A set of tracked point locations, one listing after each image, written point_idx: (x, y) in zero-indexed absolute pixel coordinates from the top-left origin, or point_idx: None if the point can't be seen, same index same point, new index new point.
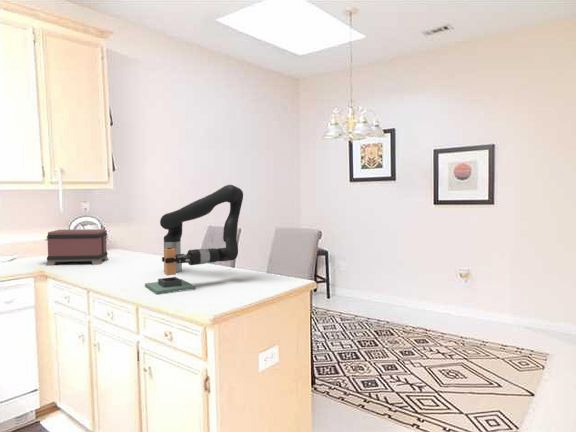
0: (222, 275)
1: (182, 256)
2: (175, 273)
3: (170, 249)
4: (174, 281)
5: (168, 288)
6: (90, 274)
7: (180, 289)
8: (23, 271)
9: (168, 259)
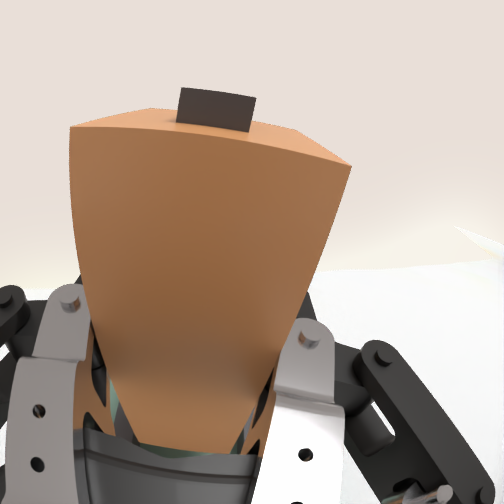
0: None
1: (17, 449)
2: (137, 436)
3: (140, 113)
4: (114, 426)
5: None
6: (476, 284)
7: None
8: (470, 238)
9: None
